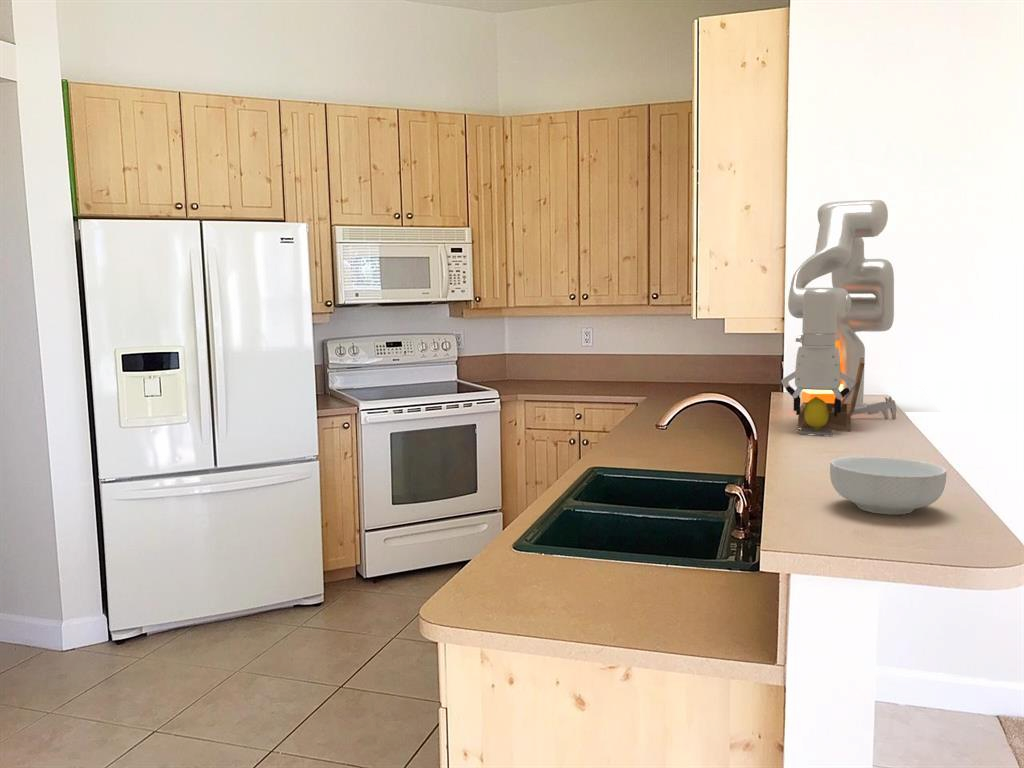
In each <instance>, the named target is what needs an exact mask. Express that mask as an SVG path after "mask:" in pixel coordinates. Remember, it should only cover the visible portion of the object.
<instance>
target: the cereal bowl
mask: <svg viewBox="0 0 1024 768" xmlns="http://www.w3.org/2000/svg"><path fill="white" fill-rule="evenodd" d="M829 467H830V468H829V476H830V481H831V485H832V487H833V488H834V490H835V491H836V492H837V494H838V495H839V496H841V497H842V498H844V499H845V500H848V501H849V502H852V503H853V504H855V505H856V506H857V508H859V509H860V510H862V511H864V512H869V513H874V514H880V515H889V516H890V515H892V516H893V515H894V516H896V515H899V516H900V514H901V515H908V514H910V513H912V512H914V510H915V509H920V508H921V509H922V508H925V507H927V506H930V505H932V504H934V503H935V502H936V501H938V500H939V498H940V497H941V496H942V495H943V492H944V490H945V486H946V482H947V470H946V468H944V467H943V466H942V465H938V464H936V463H931V462H928V461H922V460H917V459H909V458H900V457H892V456H891V457H889V456H886V457H885V456H871V455H870V456H869V455H868V456H865V455H864V456H863V455H862V456H861V455H860V456H858V455H857V456H854V455H853V456H843V457H837V458H834V459H832V460H831V461H830V466H829ZM907 513H908V514H907Z"/></svg>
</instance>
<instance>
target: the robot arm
mask: <svg viewBox="0 0 1024 768" xmlns="http://www.w3.org/2000/svg"><path fill="white" fill-rule="evenodd" d="M888 219H889V212H888V207H887V204H886V203H885V202H884V201H883V200H881V199H868V200H866V199H865V200H845V201H832V202H827V203H824V204H822V205H820V206H819V207H818V210H817V221H818V223H819V228H818V233H817V238H816V244H815V252H814V253H813V254H812V255H810V256H809V257H808V258H807V259H806V260H804V261H803V262H802V263H801V265H800V266H798V267H797V269H796V270H795V272H794V274H793V275H792V279H791V282H790V289H789V294H788V300H787V302H788V303H787V307H788V312H789V314H790V316H792V317H793V318H795V319H796V318H797V319H802V331H801V333H802V334H801V335H797V336H795V342H796V343H800V344H801V346H799V347H797V348H798V349H797V353H796V357H795V358H796V359H795V371H793V372H792V373H790V374H788V375H787V376H785V377H784V378H782V379H781V380H780V383H781V384H782V386H783V388H785V390H786V391H787V393H788V394H790V396H792V398H793V412H795V413H796V416H799V414H800V407H801V397H800V394H802V390H803V389H811V390H832V391H833V393H834V394H835V396H836V398H835V400H834V416H837V413H841V399H842V398H844V397H845V395H846V394H848V393H849V391H850V390H851V389H852V388H853V386H854V385H855V381H856V376H857V372H858V367H859V363H860V358H864V362H865V361H866V347H865V345H864V343H863V341H862V340H861V338H860V337H859V336H858V335H857V334H856V333H857V332H858V333H859V332H872V333H873V332H875V333H876V332H877V333H878V332H879V333H880V332H887V331H889V330H890V329H891V328H892V327H893V324H894V320H895V319H894V318H895V277H894V276H895V275H894V268H893V265H892V263H891V262H890V261H889V260H887V259H886V258H866V257H865V241H864V239H863V238H874V237H875V238H876V237H877V236H879V235H880V234H881V233H883V232H884V230H885V228H886V227H887V223H888ZM830 273H831V285H832V287H807V285H808V284H809V283H811V282H812V281H814V280H816V279H818V278H821V277H823V276H826V275H828V274H830ZM852 294H853V295H854V294H855V295H859V294H860V295H863V294H866V295H868V294H869V295H874V297H873V296H872V297H869V296H868V297H865V296H863V297H861V296H860V297H859V296H855V297H854V296H853V297H851V295H852ZM836 341H839V343H840V348H841V353H842V357H843V362H844V370H843V373H842V372H841V361H840V352H839V348H838V347H836ZM841 379H842V380H843V390H842V391H841V392H840V391H839V389H838V388H839V387H840V383H841ZM792 380H794V385H795V387H796V389H794V387H792V386H791V385H790V381H792ZM864 385H865V368H864V369H863V373H862V378H861V382H860V387H859V391H858V396H857V400H856V405H855V408H861V407H866V406H867V405H868V404H867V403H864V395H865V394H864V393H865V392H864V390H865V389H864V387H865V386H864ZM853 390H854V389H853ZM853 390H852V392H851V393H850V395H849V396H848V398H847V399H846V400H845V402H844V404H850V402H851V399H852V394H853Z"/></svg>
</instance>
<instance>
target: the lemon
mask: <svg viewBox="0 0 1024 768" xmlns="http://www.w3.org/2000/svg"><path fill="white" fill-rule="evenodd" d="M804 417H805V420H806V422H807V423H808V425H810V426H811V427H813V428H814V429H815V430H819V429H820V427H822V426H824V425H825V424H826V423H827V421H828V417H829V411H828V407H827V404H826V403H825V402H824V401H823V400H821V399H819V398H818V397H814V398H813V399H811V400H810V401H808V402H807V404H806V406H805V410H804Z"/></svg>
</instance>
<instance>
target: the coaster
mask: <svg viewBox="0 0 1024 768" xmlns="http://www.w3.org/2000/svg"><path fill="white" fill-rule="evenodd" d="M800 434H815V435H814V436H819V435H829V436H828V437H832V436H833V435H832V434H833V431H832V429H819V430H815V429H814V428H801V429H800V432H799V435H800Z"/></svg>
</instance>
